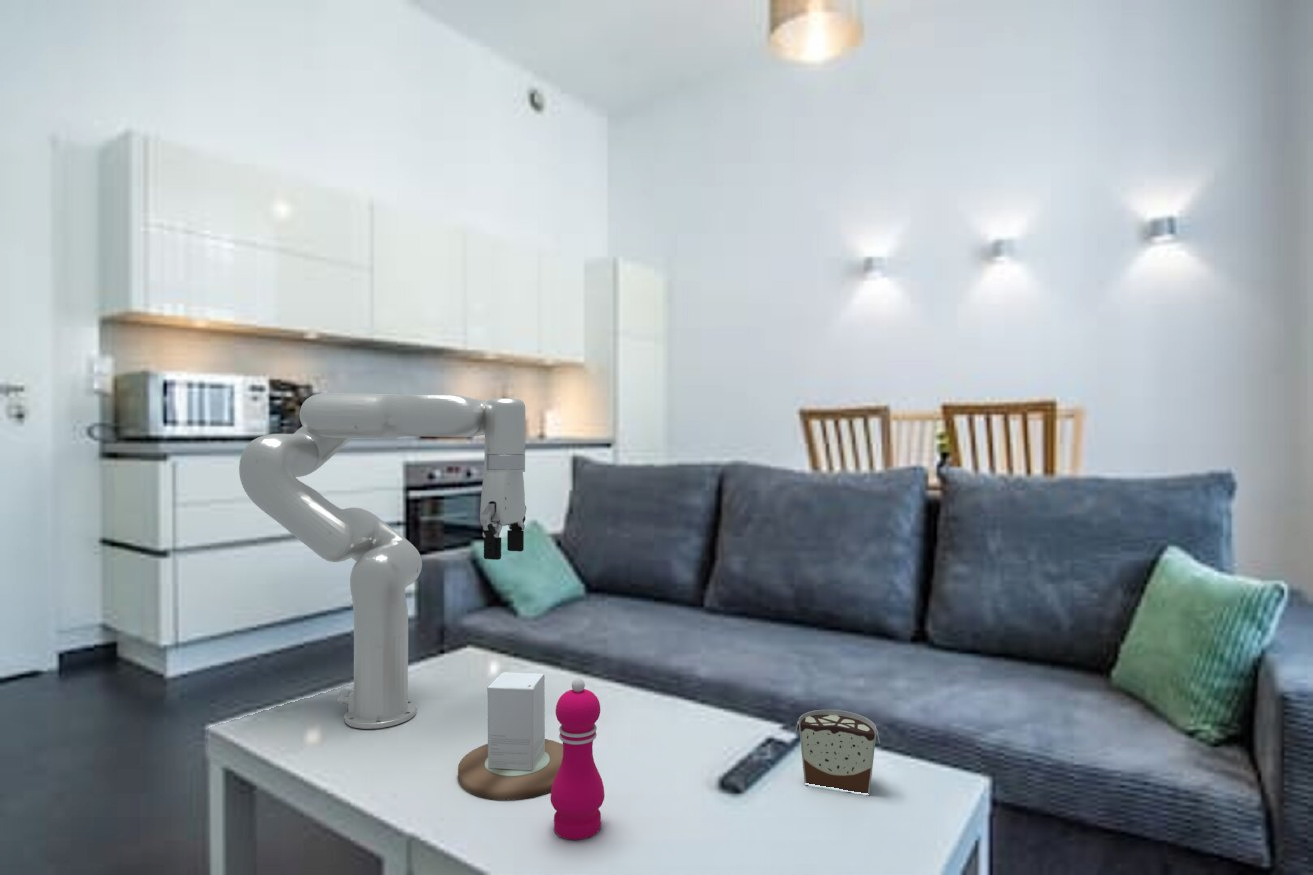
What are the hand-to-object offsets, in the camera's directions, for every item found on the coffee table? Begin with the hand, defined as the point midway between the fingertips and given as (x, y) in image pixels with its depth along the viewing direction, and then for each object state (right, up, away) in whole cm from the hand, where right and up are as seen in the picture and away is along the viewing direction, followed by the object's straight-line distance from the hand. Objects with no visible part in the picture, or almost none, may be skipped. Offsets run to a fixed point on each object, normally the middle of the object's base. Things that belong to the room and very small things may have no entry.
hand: (504, 554), depth 134 cm
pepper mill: (+18, -31, -38) cm, 52 cm away
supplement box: (+7, -29, -22) cm, 37 cm away
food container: (+57, -31, -25) cm, 69 cm away
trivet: (+7, -30, -22) cm, 38 cm away
